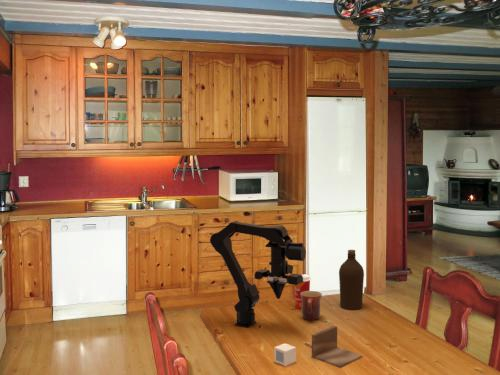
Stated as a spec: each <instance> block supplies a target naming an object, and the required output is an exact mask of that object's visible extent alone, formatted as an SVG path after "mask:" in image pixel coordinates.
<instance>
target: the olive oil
mask: <svg viewBox="0 0 500 375" xmlns="http://www.w3.org/2000/svg"><path fill="white" fill-rule="evenodd" d="M356 255H357V254H356V249H348V250H347V259H346V260H345V261H344V262H343V263H342V264H341V265H340V268H339V269H338V275H339V276H338V278H339V280H338V282H339V302H340V303H339V304H340V305H339V306H340V307H341V308H342V309H344V310H348V311H349V310H351V311H357V310H360V309H362V307H363V294H364V280H365V279H364V277H365V271H364V270H365V269H364V268H363V266H362V265H361V263H360V262H359V261H358V260H357V259H356Z"/></svg>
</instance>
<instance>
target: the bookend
mask: <svg viewBox="0 0 500 375" xmlns="http://www.w3.org/2000/svg"><path fill="white" fill-rule="evenodd" d="M311 358H313V359H315V360H318V361H321V362H323V363H326V364H329V365H332V366H335V368H339V369H342V368H343V367H345V366H347V365H349V364H352V363H353V362H356V361H357V360H360V359H361V358H363V355H362V354H359V353H356V352H354V351H350V350H347V349H345V348H342V347H339V346H338V326H335V325H332V326H330V327H327V328H325V329H322V330H320V331H317V332H314V333H312V334H311Z"/></svg>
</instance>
